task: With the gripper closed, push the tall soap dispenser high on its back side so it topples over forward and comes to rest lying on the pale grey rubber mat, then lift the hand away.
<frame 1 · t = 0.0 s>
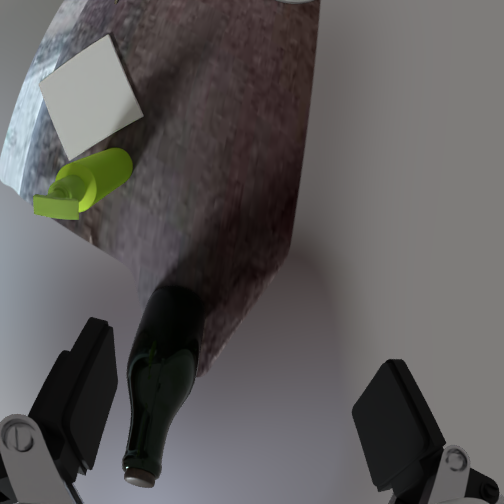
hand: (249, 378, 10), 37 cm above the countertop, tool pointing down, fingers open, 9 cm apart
soap dispenser: (118, 166, 42), on the countertop
green wine bottle: (177, 307, 53), on the countertop
grey mat: (87, 97, 37), on the countertop
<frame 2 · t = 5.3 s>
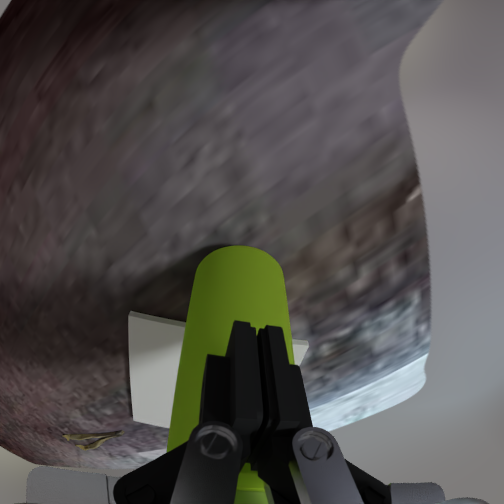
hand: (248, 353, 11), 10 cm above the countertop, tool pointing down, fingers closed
soap dispenser: (233, 275, 20), on the countertop
tongs: (94, 431, 31), on the countertop
grey mat: (206, 388, 26), on the countertop
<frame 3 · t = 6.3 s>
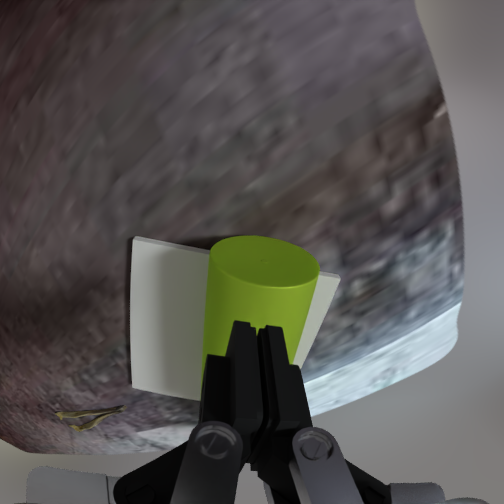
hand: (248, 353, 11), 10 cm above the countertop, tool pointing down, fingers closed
soap dispenser: (259, 256, 16), point 4 cm above the countertop, touching grey mat
tongs: (91, 407, 29), on the countertop
grey mat: (219, 341, 23), on the countertop
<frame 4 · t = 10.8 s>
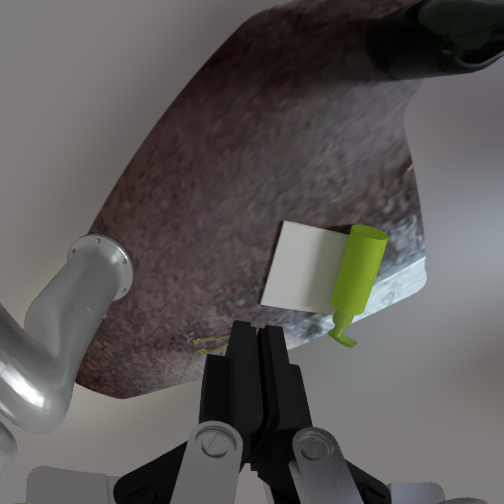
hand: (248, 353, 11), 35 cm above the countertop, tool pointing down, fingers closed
soap dispenser: (373, 231, 43), point 4 cm above the countertop, touching grey mat
green wine bottle: (394, 49, 35), on the countertop
tongs: (225, 333, 56), on the countertop
grey mat: (312, 271, 50), on the countertop
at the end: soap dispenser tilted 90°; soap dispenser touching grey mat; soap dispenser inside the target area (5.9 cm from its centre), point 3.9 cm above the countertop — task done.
